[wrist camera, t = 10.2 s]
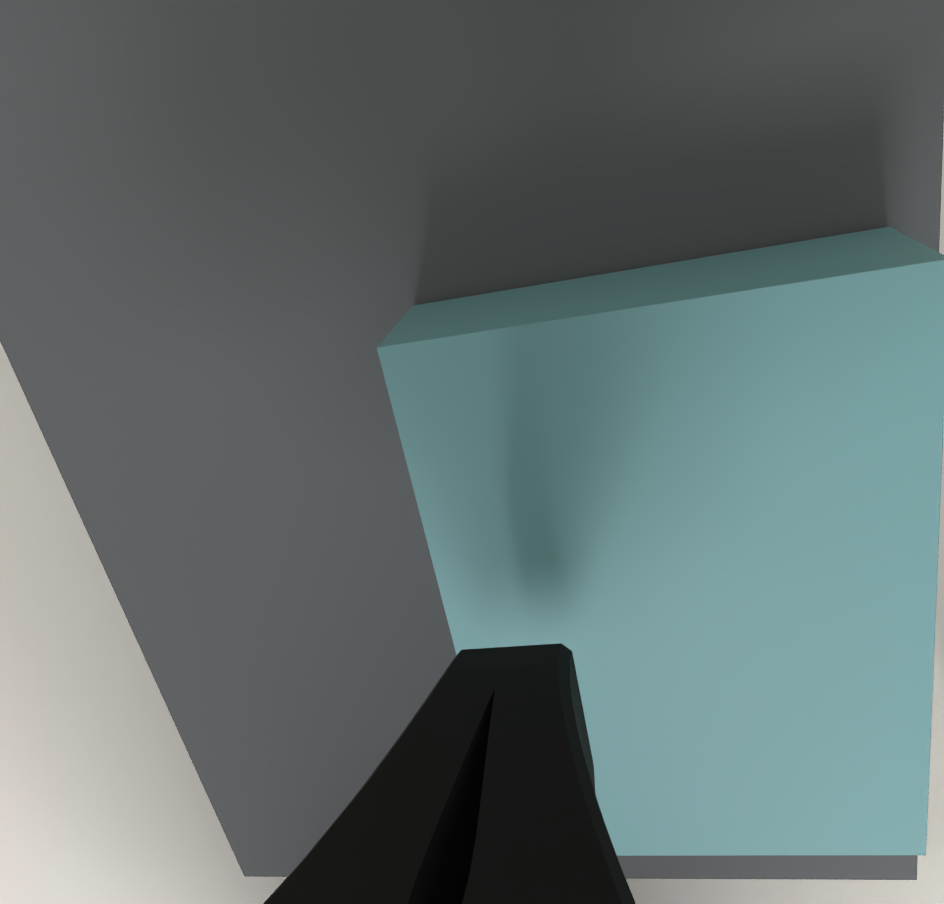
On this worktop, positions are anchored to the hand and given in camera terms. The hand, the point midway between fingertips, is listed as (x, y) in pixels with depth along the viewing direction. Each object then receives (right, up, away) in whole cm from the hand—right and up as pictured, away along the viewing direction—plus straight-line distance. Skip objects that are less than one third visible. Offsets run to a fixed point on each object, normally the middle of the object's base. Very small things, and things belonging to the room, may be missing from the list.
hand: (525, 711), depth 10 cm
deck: (-1, +1, +3) cm, 3 cm away
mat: (-1, +3, +4) cm, 5 cm away
